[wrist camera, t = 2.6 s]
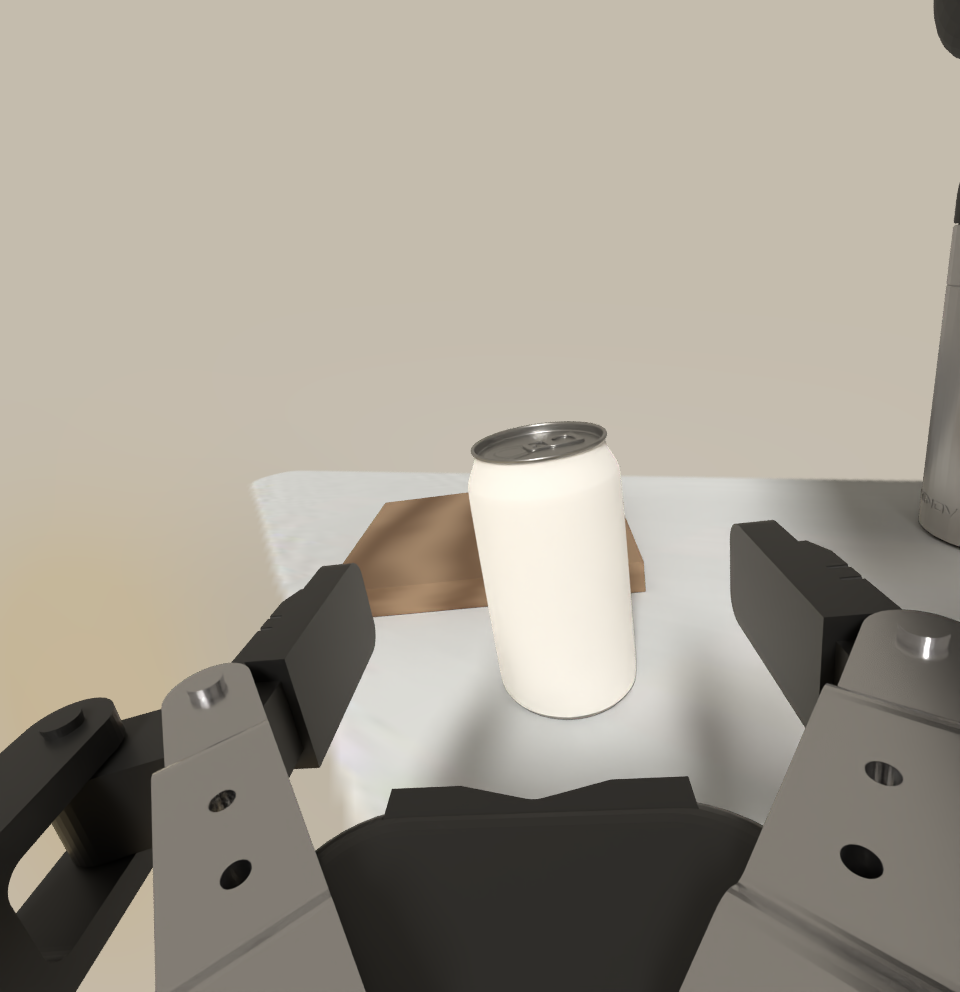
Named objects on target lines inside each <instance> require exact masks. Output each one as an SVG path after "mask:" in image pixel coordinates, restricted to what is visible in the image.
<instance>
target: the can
mask: <svg viewBox="0 0 960 992" xmlns="http://www.w3.org/2000/svg"><path fill="white" fill-rule="evenodd" d="M606 436H607V432H606V430H605V428H603V427H602V426H599V425H596V424H593V423H587V422H574V421H573V422H571V421H567V422H566V421H564V422H549V423H539V424H533V425H526V426H521V427H517V428H513V429H508V430H505V431H501V432H498V433H495V434H493V435H490V436H488V437H485V438H483V439H481V440H480V441H478V442H477V443H475V444H474V445H473V447H472V448H471V454H472V455H473V457H474V464H473V468H472V471H471V474H470V478H469V482H468V493H469V500H470V506H471V512H472V518H473V524H474V530H475V535H476V541H477V547H478V552H479V558H480V563H481V569H482V575H483V580H484V586H485V591H486V597H487V602H488V608H489V613H490V619H491V624H492V630H493V635H494V641H495V646H496V651H497V657H498V662H499V667H500V672H501V677H502V681H503V684H504V686H505V688H506V690H507V692H508V693H509V694H510V696H511V697H512V698H513V699H514V700H515V701H516V702H517V703H519V704H520V705H521V706H523V707H525V708H527V709H528V710H530V711H532V712H534V713H536V714H538V715H541V716H545V717H549V718H554V719H581V718H586V717H590V716H594V715H597V714H599V713H602V712H604V711H606V710H608V709H609V708H611V707H612V706H614V705H615V704H616V703H618V702H619V701H620V700H621V699H622V698H623V697H624V696H625V695H626V694H627V693H628V691H629V690H630V689H631V687H632V685H633V683H634V680H635V676H636V657H635V643H634V629H633V616H632V603H631V590H630V577H629V565H628V552H627V540H626V528H625V516H624V504H623V493H622V482H621V474H620V468H619V465H618V462H617V460H616V458H615V457H614V455H613V453H612V452H611V450H610V449H609V447H608V445H607V444H606V441H605V438H606Z"/></svg>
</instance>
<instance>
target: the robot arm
mask: <svg viewBox="0 0 960 992" xmlns="http://www.w3.org/2000/svg"><path fill="white" fill-rule="evenodd" d="M934 19H935V24H936V28H937V33H938V36H939V38H940V40H941V42H942V44H943V45H944V47H945V48H946V49H947V50H948V51H949V52H950V53H951V54H952V55H953V56H955V57H956V58H959V59H960V0H934ZM954 223H959V224H958V225H955V226H954V227H953V234H952V243H951V251H950V259H949V267H948V276H947V287H946V294H945V302H944V311H943V320H942V328H941V336H940V345H939V353H938V361H937V369H936V378H935V386H934V394H933V402H932V411H931V419H930V427H929V435H928V444H927V453H926V461H925V468H924V477H923V485H922V489H921V502H920V510H919V522H920V524H921V525H922V526H923V528H924V529H926V530H927V531H928V532H930V533H931V534H932V535H934V536H936V537H938V538H940V539H942V540H944V541H946V542H949V543H951V544H954V545H957V546H960V184H959V188H958V193H957V200H956V208H955V217H954ZM730 592H731V602H732V607H733V611H734V614H735V617H736V620H737V622H738V624H739V625H740V627H741V628H742V630H743V631H744V633H745V635H746V636H747V638H748V639H749V641H750V642H751V644H752V646H753V647H754V649H755V650H756V652H757V653H758V655H759V656H760V658H761V660H762V661H763V663H764V664H765V666H766V667H767V669H768V670H769V672H770V674H771V675H772V677H773V678H774V680H775V681H776V683H777V684H778V686H779V688H780V689H781V691H782V692H783V694H784V695H785V697H786V698H787V700H788V702H789V703H790V705H791V706H792V708H793V709H794V711H795V712H796V714H797V716H798V717H799V719H800V720H801V722H802V723H803V725H804V726H805V731H804V733H803V735H802V738H801V740H800V742H799V745H798V747H797V749H796V752H795V754H794V756H793V759H792V761H791V763H790V766H789V768H788V770H787V773H786V775H785V777H784V780H783V782H782V784H781V787H780V789H779V791H778V794H777V796H776V798H775V801H774V803H773V805H772V808H771V810H770V812H769V815H768V817H767V819H766V822H765V824H764V826H763V825H761V824H759V823H757V822H755V821H753V820H751V819H748V818H746V817H743V816H741V815H738V814H736V813H733V812H731V811H728V810H724V809H721V808H717V807H714V806H711V805H706V804H701V803H697V802H696V799H695V796H694V793H693V790H692V787H691V784H690V781H689V778H688V776H685V777H661V778H638V779H614V780H608V781H604V782H601V783H597V784H593V785H589V786H586V787H582V788H578V789H575V790H571V791H567V792H564V793H560V794H556V795H553V796H549V797H545V798H541V799H525V798H519V797H514V796H509V795H504V794H499V793H494V792H489V791H483V790H478V789H473V788H468V787H463V786H451V787H427V788H404V789H392V791H391V794H390V798H389V801H388V805H387V808H386V811H385V814H384V815H381V816H377V817H375V818H372V819H369V820H367V821H364V822H362V823H359V824H357V825H355V826H353V827H351V828H349V829H347V830H345V831H344V832H342V833H340V834H339V835H337V836H336V837H334V838H333V839H331V840H329V841H328V842H326V843H325V844H324V845H322V846H321V847H320V848H318V849H317V850H316V851H315V850H314V847H313V844H312V841H311V839H310V836H309V833H308V830H307V827H306V825H305V822H304V819H303V816H302V814H301V811H300V808H299V805H298V803H297V799H296V797H295V794H294V792H293V788H292V785H291V783H290V780H289V777H290V775H291V773H292V771H293V769H303V768H319V767H320V766H321V764H322V762H323V759H324V757H325V755H326V753H327V751H328V749H329V746H330V744H331V742H332V740H333V738H334V736H335V733H336V731H337V729H338V727H339V725H340V722H341V720H342V718H343V716H344V714H345V712H346V709H347V707H348V705H349V703H350V701H351V699H352V696H353V694H354V692H355V690H356V688H357V685H358V683H359V681H360V679H361V677H362V675H363V672H364V670H365V668H366V666H367V664H368V662H369V659H370V657H371V655H372V653H373V650H374V646H375V624H374V620H373V616H372V612H371V608H370V604H369V600H368V596H367V592H366V589H365V585H364V581H363V577H362V573H361V570H360V568H359V566H358V565H357V564H356V563H349V564H339V565H330V566H322V567H321V568H320V569H319V570H318V571H317V572H316V574H315V575H314V576H313V577H312V579H311V580H310V581H309V582H308V584H307V585H306V586H305V587H304V589H301V590H299V591H298V592H296V593H295V594H293V595H292V596H291V597H289V598H288V599H286V600H285V601H283V602H282V603H281V604H280V605H279V607H278V608H277V609H276V610H275V611H274V613H273V614H272V615H271V616H270V619H268V620H267V621H266V622H265V623H264V624H263V626H262V627H261V631H258V632H257V633H256V634H255V635H254V636H253V637H252V639H251V640H250V641H249V642H248V643H247V645H246V646H245V647H244V648H243V649H242V651H241V652H240V653H239V654H238V655H237V657H236V658H235V659H234V660H233V661H232V662H231V663H225V664H220V665H216V666H212V667H209V668H207V669H204V670H202V671H199V672H197V673H195V674H193V675H191V676H190V677H188V678H186V679H185V680H183V681H182V682H181V683H179V684H178V685H177V686H175V687H174V688H173V689H172V690H171V691H170V692H169V693H168V694H167V696H166V697H165V699H164V701H163V703H162V708H161V709H160V710H157V711H153V712H149V713H146V714H142V715H139V716H136V717H131V718H128V719H125V720H121V719H120V717H119V715H118V712H117V710H116V708H115V706H114V704H113V702H112V701H111V700H110V699H107V698H91V699H86V700H82V701H79V702H76V703H73V704H70V705H68V706H65V707H63V708H61V709H59V710H57V711H55V712H53V713H51V714H49V715H47V716H46V717H44V718H43V719H41V720H40V721H38V722H37V723H35V724H34V725H32V726H31V727H30V728H29V729H27V730H26V731H25V732H24V733H23V734H21V736H19V737H18V738H17V739H16V740H15V741H14V742H13V743H11V744H10V745H9V746H8V747H7V748H6V749H5V750H4V751H2V752H1V753H0V992H76V990H77V989H78V987H79V986H80V984H81V982H82V981H83V979H84V978H85V976H86V974H87V973H88V971H89V969H90V968H91V966H92V965H93V963H94V961H95V960H96V958H97V957H98V955H99V953H100V951H101V950H102V949H103V947H104V945H105V944H106V942H107V940H108V939H109V937H110V936H111V934H112V932H113V931H114V929H115V927H116V926H117V924H118V923H119V921H120V919H121V918H122V916H123V915H124V913H125V911H126V910H127V908H128V906H129V905H130V903H131V902H132V900H133V899H134V897H135V895H136V893H137V892H138V890H139V889H140V887H141V886H142V884H143V882H144V881H145V879H146V878H147V876H148V874H149V873H150V871H151V869H152V868H153V893H154V938H155V986H156V987H155V992H960V622H958V621H955V620H953V619H950V618H947V617H944V616H941V615H937V614H933V613H928V612H922V611H915V610H902V609H901V608H900V607H899V606H897V605H896V604H895V603H894V602H893V601H891V600H890V599H889V598H888V597H887V596H885V595H884V594H883V593H882V592H881V591H879V590H878V589H877V588H876V587H875V586H873V585H872V584H871V583H870V582H869V581H867V580H866V579H862V577H861V575H860V574H859V573H858V572H856V571H855V570H854V569H853V568H852V567H848V564H847V563H846V562H844V561H843V560H842V559H841V558H840V557H838V556H837V555H836V554H835V553H833V552H832V551H831V550H828V549H826V548H823V547H821V546H818V545H816V544H814V543H811V542H809V541H797V540H796V539H795V538H794V537H793V536H792V535H790V534H789V533H788V532H787V531H786V530H785V529H784V528H783V527H782V526H780V525H779V524H778V523H777V522H776V521H774V520H768V521H759V522H749V523H739V524H734V525H733V526H732V528H731V532H730ZM51 823H52V825H53V827H54V829H55V830H56V832H57V834H58V836H59V838H60V839H61V841H62V843H63V845H64V847H65V849H66V852H65V853H64V854H63V856H62V857H61V858H60V859H59V860H58V862H57V863H56V864H55V866H54V867H53V868H52V869H51V871H50V872H49V873H48V874H47V875H46V877H45V878H44V879H43V880H42V882H41V883H40V884H39V885H38V887H37V888H36V889H35V890H34V892H33V893H32V894H31V895H30V897H29V898H28V899H27V901H26V902H25V903H24V904H23V906H22V907H21V908H20V909H19V910H18V912H17V913H15V912H14V910H13V908H12V907H11V905H10V903H9V900H8V885H9V881H10V878H11V875H12V873H13V870H14V868H15V867H16V865H17V864H18V862H19V861H20V859H21V858H22V857H23V856H24V854H25V853H26V852H27V851H28V850H29V849H30V847H31V846H32V845H33V844H34V843H35V842H36V841H37V839H38V838H39V837H40V836H41V835H42V833H44V831H45V830H46V829H47V828H48V827H49V826H50V825H51Z"/></svg>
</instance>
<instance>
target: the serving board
mask: <svg viewBox="0 0 960 992" xmlns="http://www.w3.org/2000/svg"><path fill="white" fill-rule="evenodd" d="M624 516H625V515H624ZM625 528H626V540H627V552H628V565H629V577H630V590H631V593H633V592H644V591H646V590H645V575H644V561H643V559H642V557H641V554H640V552H639V549H638V547H637V545H636V542H635V540H634V537H633V535H632V532H631V530H630V528H629V525H628V523H627V520H626V518H625ZM349 563H356V564H357V565H358V566H359V568H360V570H361V573H362V577H363V581H364V585H365V589H366V592H367V596H368V600H369V604H370V608H371V612H372V616H373V617H377V616H388V615H398V614H409V613H420V612H430V611H441V610H452V609H462V608H473V607H484V606H488V602H487V597H486V591H485V586H484V580H483V575H482V569H481V563H480V558H479V552H478V547H477V541H476V535H475V530H474V524H473V518H472V512H471V506H470V500H469V493H461V494H453V495H445V496H437V497H429V498H421V499H413V500H405V501H397V502H389V503H385V504H384V506H383V507H382V509H381V510H380V512H379V513H378V514H377V516H376V517H375V519H374V520H373V521H372V523H371V524H370V526H369V527H368V529H367V530H366V531H365V533H364V534H363V536H362V537H361V539H360V540H359V541H358V543H357V544H356V546H355V547H354V549H353V550H352V551H351V553H350V554H349V556H348V557H347V558H346V560H345V561H344V563H343V564H349Z"/></svg>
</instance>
